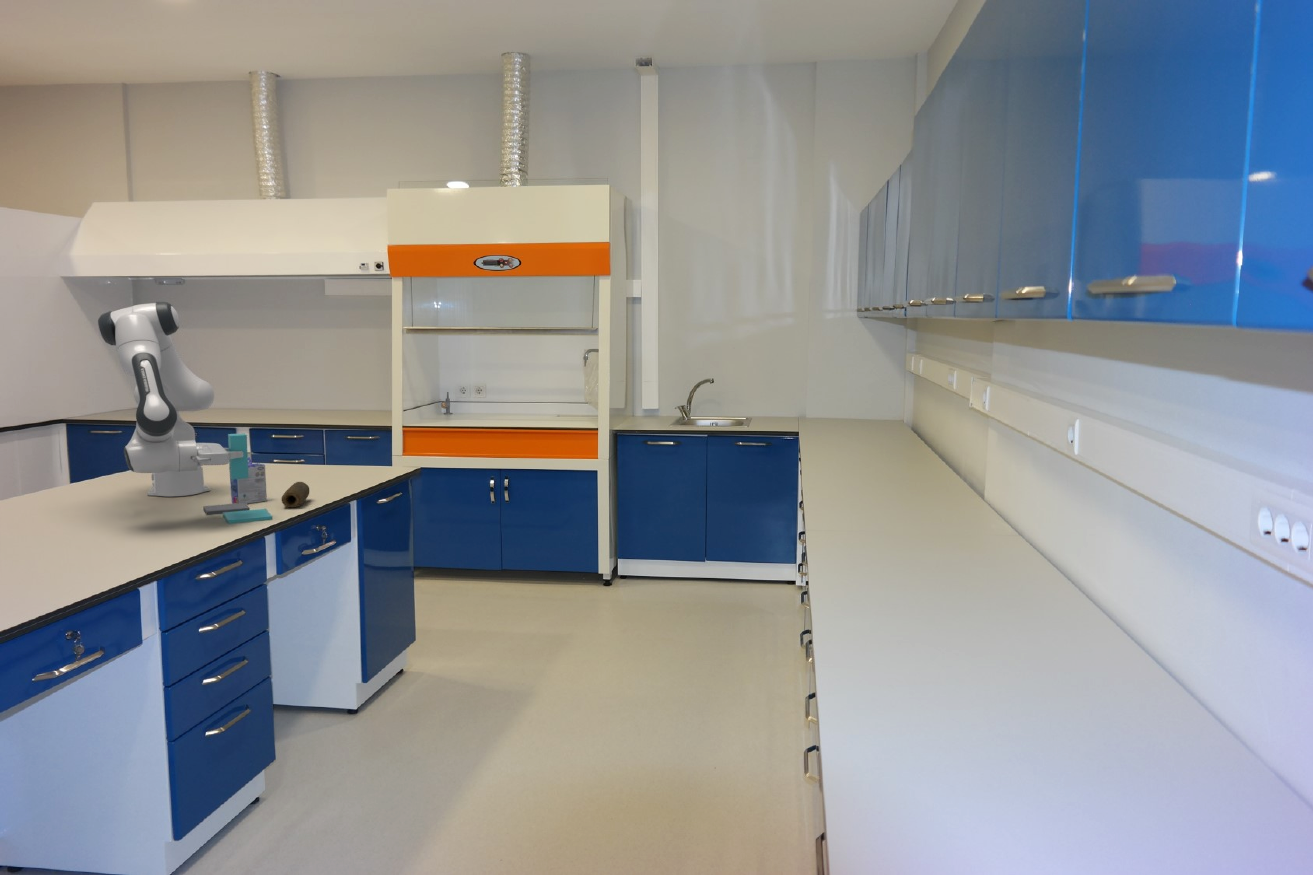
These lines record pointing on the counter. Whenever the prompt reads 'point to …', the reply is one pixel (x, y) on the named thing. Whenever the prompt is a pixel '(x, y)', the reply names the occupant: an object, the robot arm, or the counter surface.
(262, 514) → the teal pad
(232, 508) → the charcoal pad
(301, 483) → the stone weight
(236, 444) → the teal column
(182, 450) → the robot arm
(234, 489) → the ink cartridge box
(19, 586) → the counter surface
